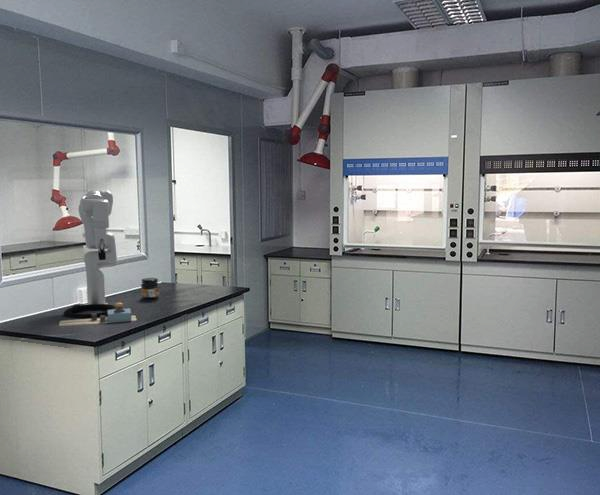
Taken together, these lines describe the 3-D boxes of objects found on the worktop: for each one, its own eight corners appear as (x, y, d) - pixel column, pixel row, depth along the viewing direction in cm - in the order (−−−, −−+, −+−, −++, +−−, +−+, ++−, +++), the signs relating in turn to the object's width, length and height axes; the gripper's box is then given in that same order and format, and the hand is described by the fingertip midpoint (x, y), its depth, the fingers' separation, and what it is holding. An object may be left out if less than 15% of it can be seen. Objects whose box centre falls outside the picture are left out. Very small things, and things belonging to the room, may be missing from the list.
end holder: (107, 317, 283) (107, 309, 283) (130, 315, 287) (130, 308, 287) (108, 322, 273) (108, 314, 272) (131, 320, 277) (131, 312, 276)
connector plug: (115, 318, 281) (115, 303, 280) (123, 317, 282) (122, 302, 281) (115, 320, 278) (115, 304, 277) (123, 319, 279) (122, 304, 278)
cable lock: (80, 317, 275) (50, 308, 294) (81, 324, 276) (50, 315, 294) (128, 307, 297) (97, 300, 315) (128, 314, 297) (98, 307, 316)
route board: (60, 323, 276) (59, 315, 276) (135, 317, 288) (135, 310, 288) (58, 328, 265) (58, 320, 264) (136, 322, 277) (136, 315, 277)
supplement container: (152, 300, 333) (152, 280, 331) (137, 299, 336) (137, 279, 335) (162, 297, 342) (162, 278, 341) (147, 296, 346) (147, 277, 345)
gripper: (92, 223, 286) (93, 256, 288) (93, 226, 270) (94, 261, 272) (108, 223, 289) (109, 255, 291) (109, 226, 273) (110, 260, 275)
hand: (102, 258), depth 282 cm, fingers open, 9 cm apart
